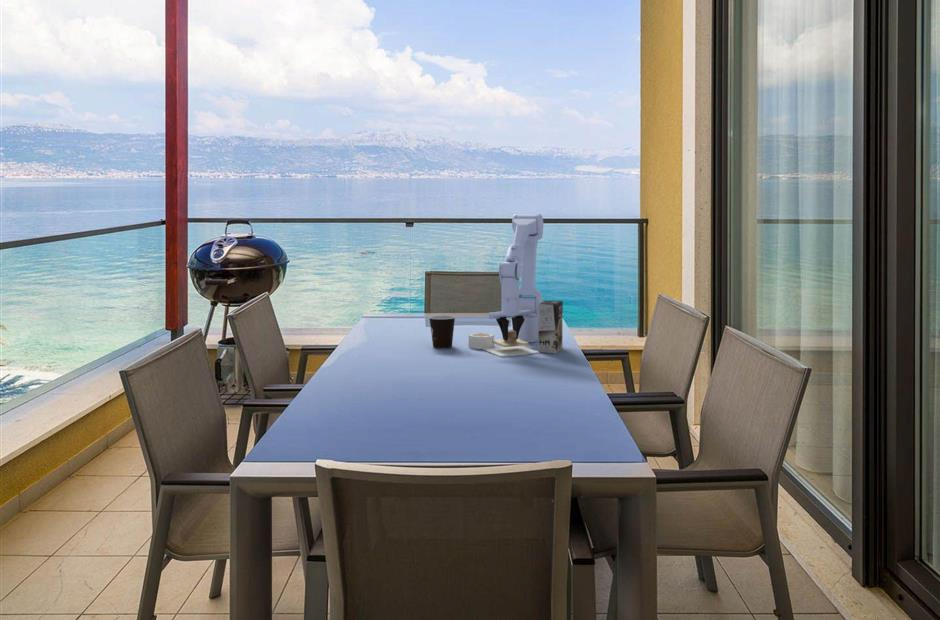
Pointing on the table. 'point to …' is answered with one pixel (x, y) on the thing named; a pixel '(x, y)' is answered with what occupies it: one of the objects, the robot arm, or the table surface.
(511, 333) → the cover
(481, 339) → the bowl
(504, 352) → the mat
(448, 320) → the coffee mug
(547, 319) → the coffee box
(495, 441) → the table surface
